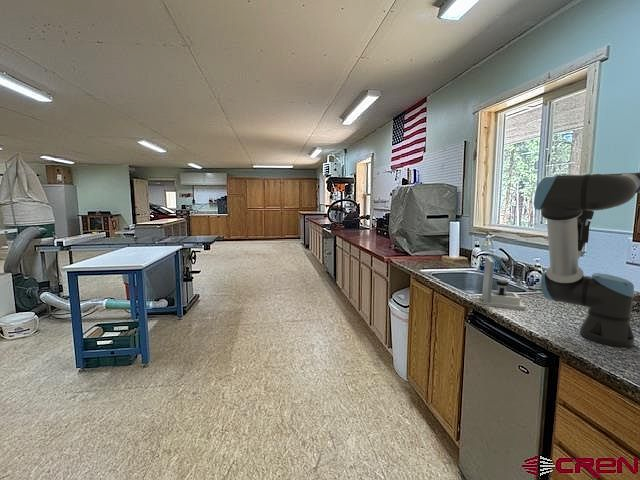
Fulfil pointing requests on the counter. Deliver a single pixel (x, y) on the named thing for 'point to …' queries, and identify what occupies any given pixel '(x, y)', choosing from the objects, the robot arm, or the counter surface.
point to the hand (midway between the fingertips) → (568, 255)
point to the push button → (502, 287)
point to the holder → (490, 295)
